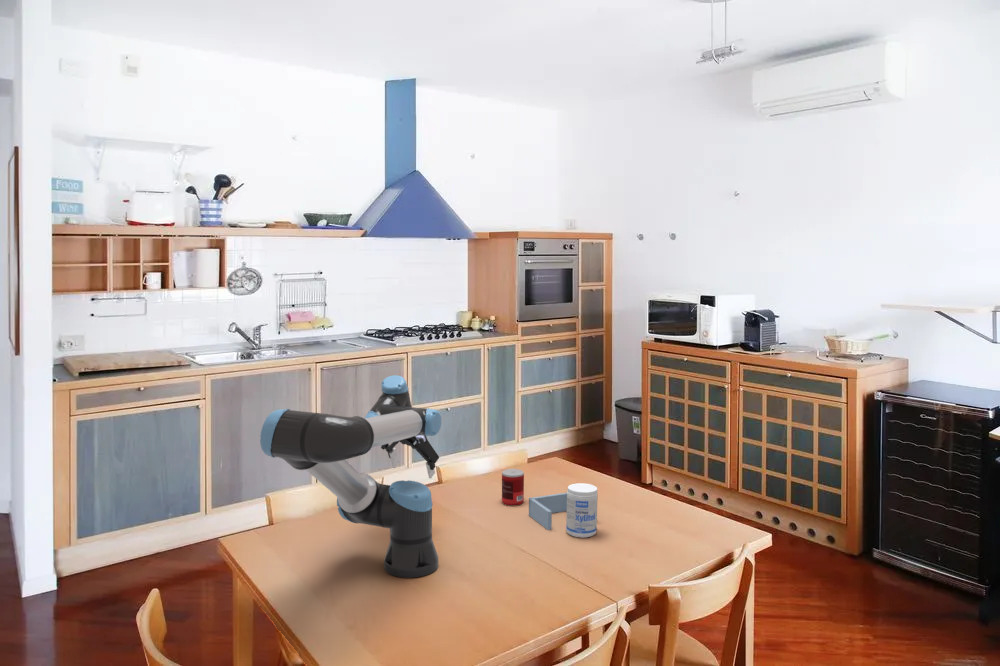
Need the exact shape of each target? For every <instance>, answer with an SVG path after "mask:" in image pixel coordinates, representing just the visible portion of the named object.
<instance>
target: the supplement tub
mask: <svg viewBox="0 0 1000 666" xmlns="http://www.w3.org/2000/svg"><path fill="white" fill-rule="evenodd" d="M566 493H567V511H566V517H565V518H566V520H565V521H566V523H565V528H566V529H565V531H566V532H567V534H568V535H570V536H572V537H576V538H580V539H581V538H582V539H584V538H590V537H592V536H595V535H596V534H597V530H598V529H597V525H598V501H599V500H598V493H599V492H598V487H597V486H596V485H593V484H591V483H583V482H582V483H581V482H579V483H577V482H576V483H573V484H569V485H568V486H567V491H566Z"/></svg>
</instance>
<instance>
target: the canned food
mask: <svg viewBox="0 0 1000 666" xmlns="http://www.w3.org/2000/svg"><path fill="white" fill-rule="evenodd" d="M524 487H525V472H524V471H523V470H522V469H517V468H508V469H507V468H506V469H505V470H503V471H501V502H502V504H503V503H504V504H503V505H505V504H506V506H508V505H518V506H521V505H522V504H524V501H525V500H524V498H525V496H524V495H525V488H524ZM520 504H521V505H520Z"/></svg>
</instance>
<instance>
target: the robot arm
mask: <svg viewBox="0 0 1000 666" xmlns="http://www.w3.org/2000/svg"><path fill="white" fill-rule="evenodd" d="M380 386H381V392H382V394H381V395H380V396H379V398H378V399H377V401H376V402H375V404H373V406H372V407H371V408H370V410H369V411H368V412H367V413H366V415H365V417H363V416H359V415H357V416H356V415H355V416H344V415H336V414H330V413H329V414H328V413H320V412H311V411H302V410H292V409H290V408H285V409H280V408H278V409H275V410H274V411H271V412H270V413H269V414H268V415H267V416H266V418H265V420H264V422H263V424H262V427H261V431H260V437H259V438H260V441H259V442H260V448H261V450H262V452H263V453H264V455H267V456H268V457H270V458H279V459H281V460H284V461H285V463H287V464H288V465H290V466H291V467H292V468H294V469H295V470H298V471H306V472H308V473H309V474H310V475H311V476H312V477H313V478H314V479H316V480H317V481H318V482H319V483H321V484H322V485H323V486H324V487H325V488H326V489H328V490H329V491H330V492H331V493H332V494H333V495H334V496H335V497H337V498H336V506H337V511H338V513H339V515H340V517H341V518H343V519H344V520H345V521H347V522H350V523H353V524H363V525H369V526H375V527H381V528H386V529H389V536H390V537H389V544H388V546H387V550H386V553H385V556H384V559H383V568H384V571H385V572H386V573H387V574H388V575H391V576H394V577H398V578H404V579H405V578H407V579H408V578H409V579H411V578H412V579H413V578H419V577H424V576H427V575H430V574H433V573H434V572H435V571H437V570H438V568H439V555H438V552H437V550H436V546H435V543H434V540H433V498H432V492H431V489H430V488H429V487H428V486H427V485H426V484H424V483H422V482H419V481H415V480H397V481H393V482H392V483H391V484H390V485H389V484H383V483H380V482H378V481H376V479H374V478H373V477H372V476H371V475H369V474H368V473H364V472H362V473H360V472H359V471H358V470H357V469H356V468H355V467H354V466H353V465H352V464H351V463H350V462H349V461H348V460H349V459H352V458H356V457H360V456H363V455H366V454H368V453H369V452H370V450H371V449H373V448H376V447H380V448H381V449H382V450H385V452H387V455H388V458H389V459H390V461H391V465H392V468H393V469H396V468H397V466H399V464H400V460H399V455H398V452H397V448H396V446H397V445H398V444H399V443H401V444H402V445H406V446H409V447H410V448H412V449H413V450H415V451H416V452H417V453H418V454H419V455H420V456H421V457H422V458H423V459H424V460H425V461H426V462H425V466H426V471H427V474H428V478H429V479H432V478H433V476H434V475H435V474H436V470H435V468H436V463H437V462H438V460H439V459H440V456H439V455H438V453H437V452H436V450H435V449H434V447H433V445H432V444H431V443H430V441H429V439H428V436H429V437H430V436H431V437H434V436H437V435H438V433H440V430H441V427H442V415H441V413H440V411H439V410H437V409H432V408H429V407H427V408H425V407H415V406H414V407H413V405H412V402H411V397H410V391H409V389H410V388H409V387H408V383H407V381H406V379H405V378H404V377H403V376H401V375H389V376H387V377H385V378H384V379H383V380H382V381H381V385H380Z"/></svg>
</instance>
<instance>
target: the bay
mask: <svg viewBox="0 0 1000 666" xmlns="http://www.w3.org/2000/svg"><path fill="white" fill-rule="evenodd" d="M556 512H557V513H563V512H567V492H563V493H554V494H548V495H540V496H533V497H529V498H528V516H529V517H530V518H532V519H533V520H534V521H535V522H537V523H538V524H539V525H540V526H542V527H543V528H544V529H546V530H548V531H551V530H552V520H553V519H552V517H553V516H552V514H555V513H556Z"/></svg>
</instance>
